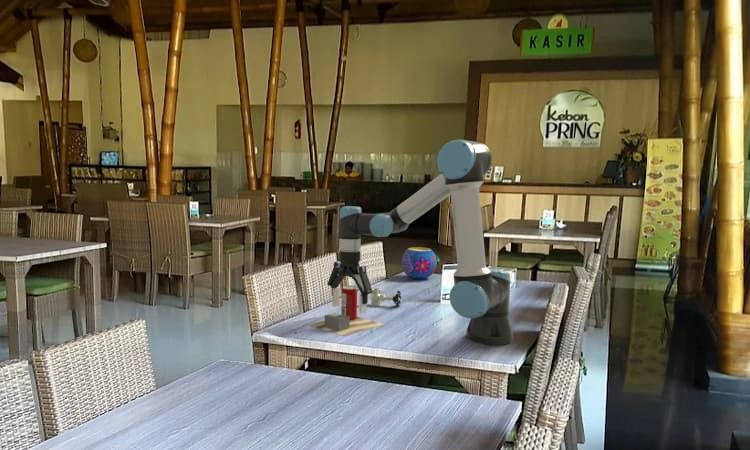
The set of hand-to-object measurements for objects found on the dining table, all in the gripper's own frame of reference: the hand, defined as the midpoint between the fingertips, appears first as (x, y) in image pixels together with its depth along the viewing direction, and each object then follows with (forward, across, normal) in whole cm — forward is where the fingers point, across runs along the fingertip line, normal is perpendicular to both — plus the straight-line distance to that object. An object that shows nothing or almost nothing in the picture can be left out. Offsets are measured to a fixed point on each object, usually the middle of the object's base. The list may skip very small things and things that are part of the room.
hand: (348, 309), depth 203 cm
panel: (+5, -4, +5) cm, 8 cm away
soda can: (+4, 0, 0) cm, 4 cm away
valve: (+5, +8, -28) cm, 30 cm away
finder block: (+4, -4, +10) cm, 12 cm away
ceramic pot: (+5, +34, -83) cm, 90 cm away
